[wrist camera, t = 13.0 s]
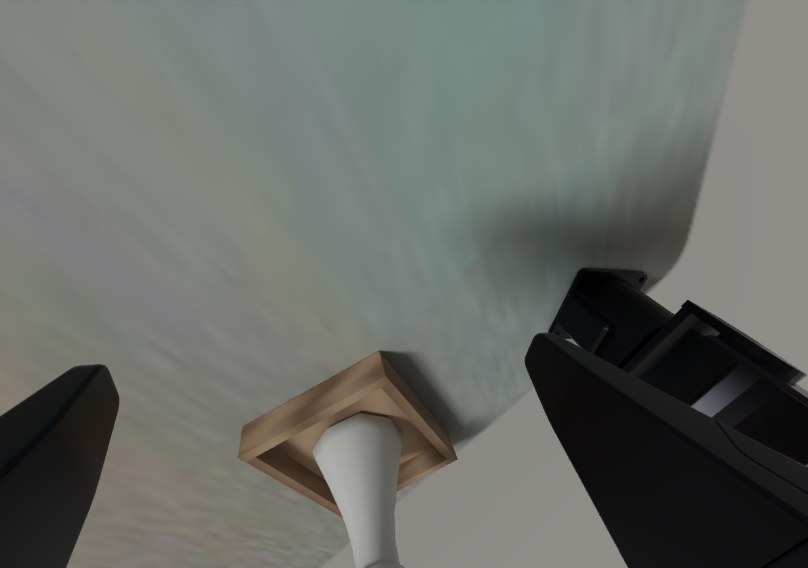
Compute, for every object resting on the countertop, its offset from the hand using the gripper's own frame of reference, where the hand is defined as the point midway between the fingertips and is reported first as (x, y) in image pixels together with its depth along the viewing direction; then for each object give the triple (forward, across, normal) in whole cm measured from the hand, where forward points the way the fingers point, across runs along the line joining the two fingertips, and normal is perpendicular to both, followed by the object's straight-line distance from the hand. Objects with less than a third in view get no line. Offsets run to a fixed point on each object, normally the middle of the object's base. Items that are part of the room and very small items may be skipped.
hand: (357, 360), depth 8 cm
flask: (+12, -4, +22) cm, 25 cm away
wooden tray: (+13, -4, +22) cm, 25 cm away
